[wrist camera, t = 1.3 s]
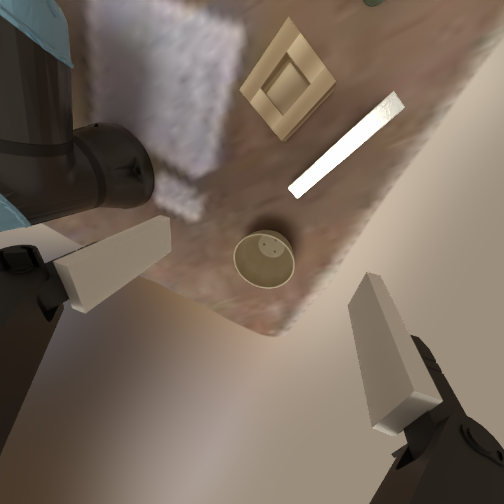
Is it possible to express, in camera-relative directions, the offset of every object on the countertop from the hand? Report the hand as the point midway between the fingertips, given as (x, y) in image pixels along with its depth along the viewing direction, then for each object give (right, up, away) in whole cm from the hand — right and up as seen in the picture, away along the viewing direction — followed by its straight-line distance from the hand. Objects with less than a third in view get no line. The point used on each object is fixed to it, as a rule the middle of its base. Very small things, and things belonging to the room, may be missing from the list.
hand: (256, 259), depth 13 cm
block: (+5, +22, +13) cm, 26 cm away
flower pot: (+3, +2, +24) cm, 25 cm away
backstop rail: (+11, +15, +15) cm, 24 cm away
